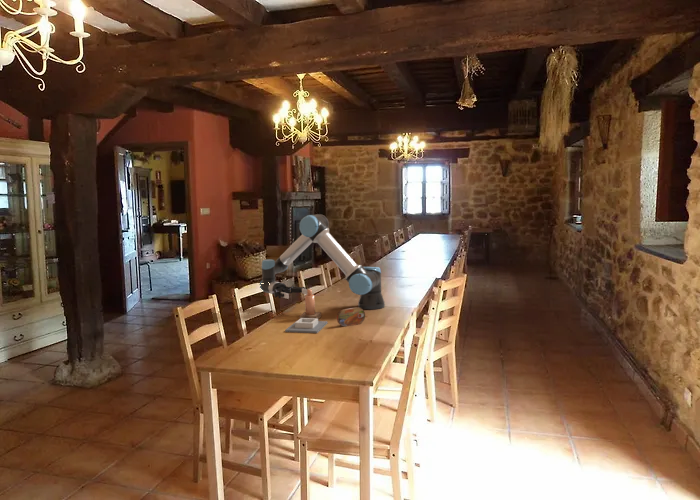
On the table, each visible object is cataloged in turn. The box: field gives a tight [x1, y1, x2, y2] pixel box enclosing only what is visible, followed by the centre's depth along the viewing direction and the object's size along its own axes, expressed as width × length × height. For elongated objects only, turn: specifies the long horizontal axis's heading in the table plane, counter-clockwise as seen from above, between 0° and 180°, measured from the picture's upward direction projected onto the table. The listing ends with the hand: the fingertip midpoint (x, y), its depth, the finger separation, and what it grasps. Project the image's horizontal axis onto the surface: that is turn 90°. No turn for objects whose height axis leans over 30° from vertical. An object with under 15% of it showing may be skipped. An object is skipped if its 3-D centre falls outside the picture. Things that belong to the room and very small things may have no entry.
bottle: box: [304, 288, 316, 315], centre depth 266 cm, size 5×5×13 cm
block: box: [299, 311, 322, 320], centre depth 267 cm, size 9×9×2 cm
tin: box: [336, 307, 366, 328], centre depth 253 cm, size 15×3×8 cm, turn 117°
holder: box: [284, 317, 328, 334], centre depth 250 cm, size 16×18×4 cm
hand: (298, 294), depth 273 cm, fingers open, 13 cm apart
